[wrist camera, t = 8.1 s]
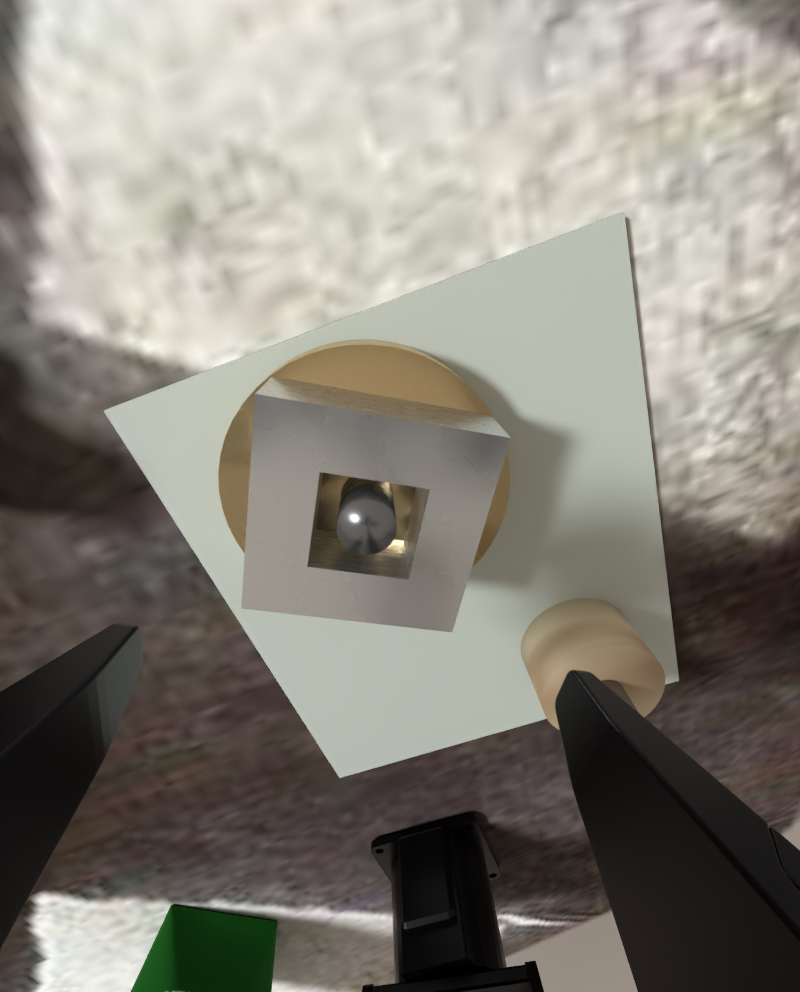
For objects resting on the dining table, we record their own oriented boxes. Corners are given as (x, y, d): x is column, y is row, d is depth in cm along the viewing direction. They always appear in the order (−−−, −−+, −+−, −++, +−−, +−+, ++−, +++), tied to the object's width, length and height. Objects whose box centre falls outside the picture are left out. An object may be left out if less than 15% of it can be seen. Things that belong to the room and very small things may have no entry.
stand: (634, 663, 22) (738, 816, 16) (533, 693, 23) (595, 853, 16) (620, 583, 20) (733, 722, 14) (509, 618, 21) (570, 767, 14)
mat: (674, 674, 23) (679, 680, 23) (339, 770, 25) (339, 778, 25) (618, 213, 15) (624, 212, 14) (109, 407, 16) (103, 410, 16)
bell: (525, 544, 19) (560, 604, 16) (300, 616, 20) (285, 689, 17) (457, 293, 15) (484, 298, 11) (177, 399, 16) (122, 434, 12)
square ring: (442, 589, 18) (452, 632, 16) (257, 566, 17) (241, 608, 15) (490, 414, 15) (510, 437, 13) (272, 376, 14) (255, 393, 12)
